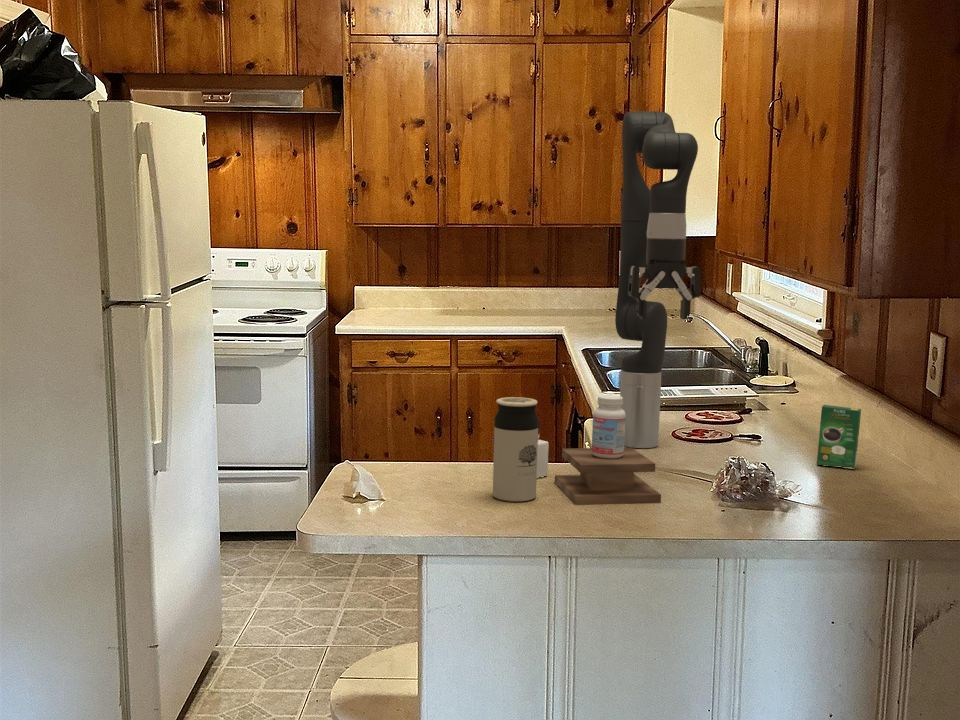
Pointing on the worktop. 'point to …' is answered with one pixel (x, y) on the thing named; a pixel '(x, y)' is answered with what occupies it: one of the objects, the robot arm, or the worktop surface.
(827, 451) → the coffee box
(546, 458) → the medicine bottle
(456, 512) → the worktop surface
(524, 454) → the travel mug
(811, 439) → the worktop surface
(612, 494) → the walnut stand
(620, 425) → the pill bottle
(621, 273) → the robot arm
